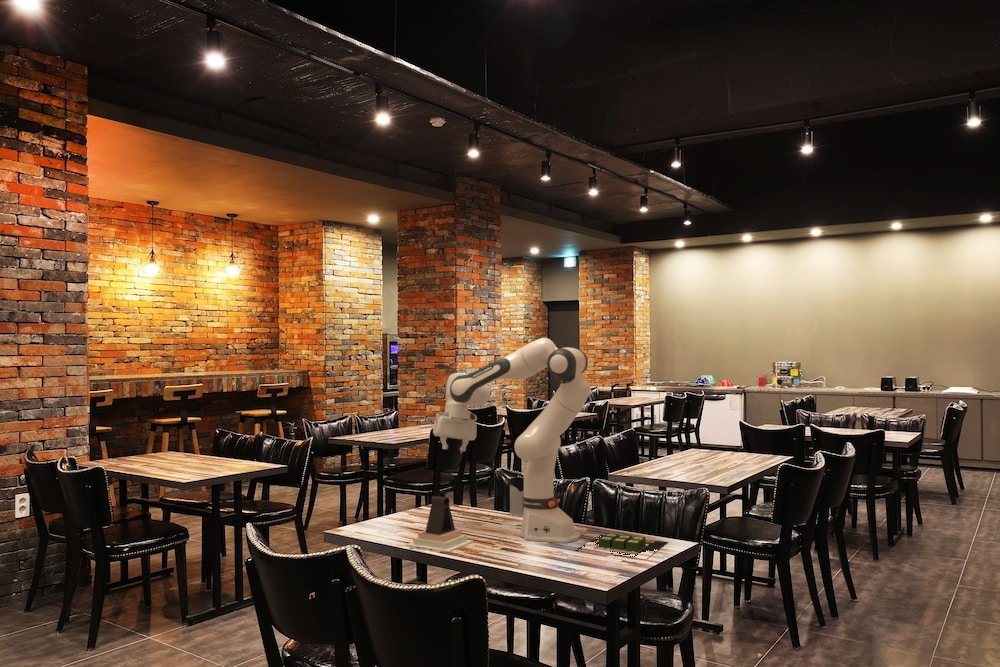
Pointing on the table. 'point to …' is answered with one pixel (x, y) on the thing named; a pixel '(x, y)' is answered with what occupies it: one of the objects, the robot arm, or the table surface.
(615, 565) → the table surface
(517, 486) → the glass holder
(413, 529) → the table surface
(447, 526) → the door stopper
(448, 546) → the base
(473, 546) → the table surface
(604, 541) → the sushi
